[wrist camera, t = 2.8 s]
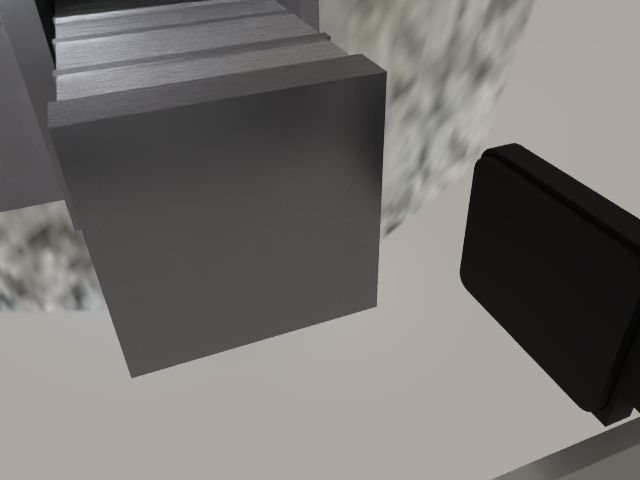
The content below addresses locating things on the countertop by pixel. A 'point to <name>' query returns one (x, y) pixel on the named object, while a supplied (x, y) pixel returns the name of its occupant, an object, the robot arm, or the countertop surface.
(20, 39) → the stand
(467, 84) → the countertop surface
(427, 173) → the countertop surface
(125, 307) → the post
